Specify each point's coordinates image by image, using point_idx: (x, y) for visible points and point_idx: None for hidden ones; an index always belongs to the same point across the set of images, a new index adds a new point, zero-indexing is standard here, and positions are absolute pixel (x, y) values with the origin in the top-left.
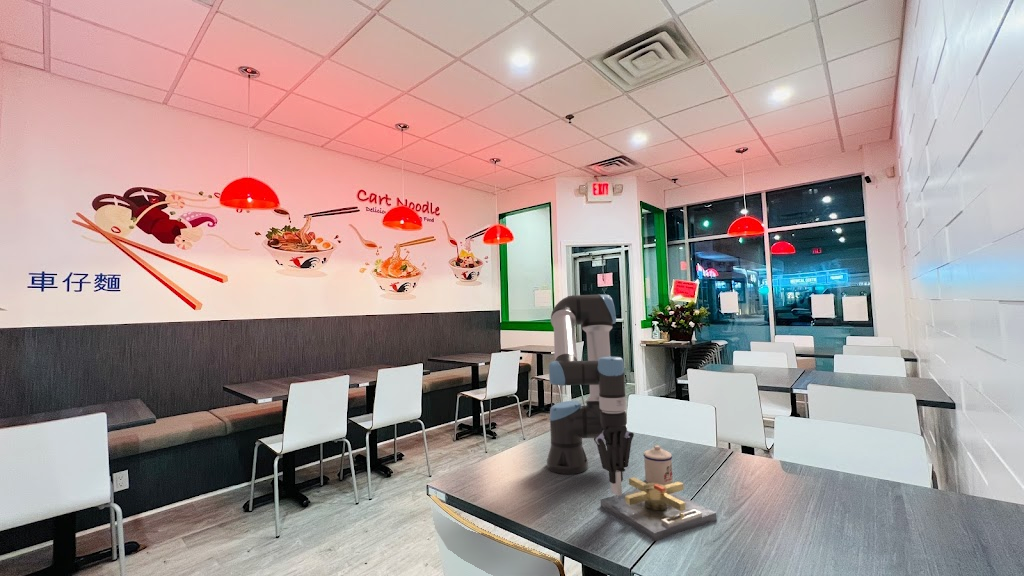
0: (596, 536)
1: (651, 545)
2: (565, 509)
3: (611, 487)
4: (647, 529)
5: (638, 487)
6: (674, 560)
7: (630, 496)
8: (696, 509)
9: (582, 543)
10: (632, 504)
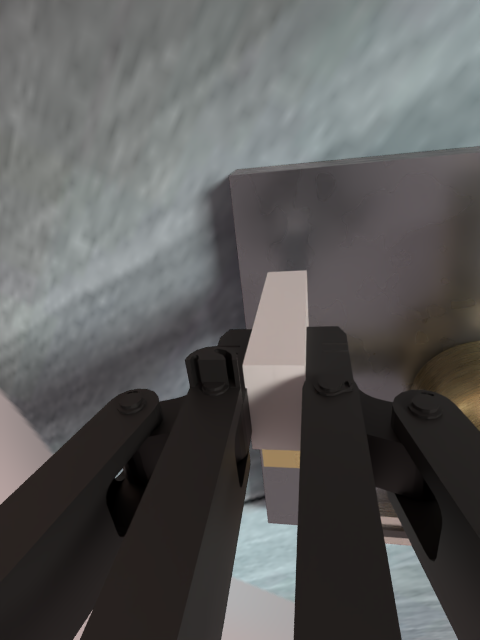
0: (93, 393)
1: (244, 503)
2: (21, 110)
3: (263, 288)
4: (265, 494)
5: None
6: (254, 565)
7: (286, 454)
8: None
9: (32, 403)
10: (369, 323)
